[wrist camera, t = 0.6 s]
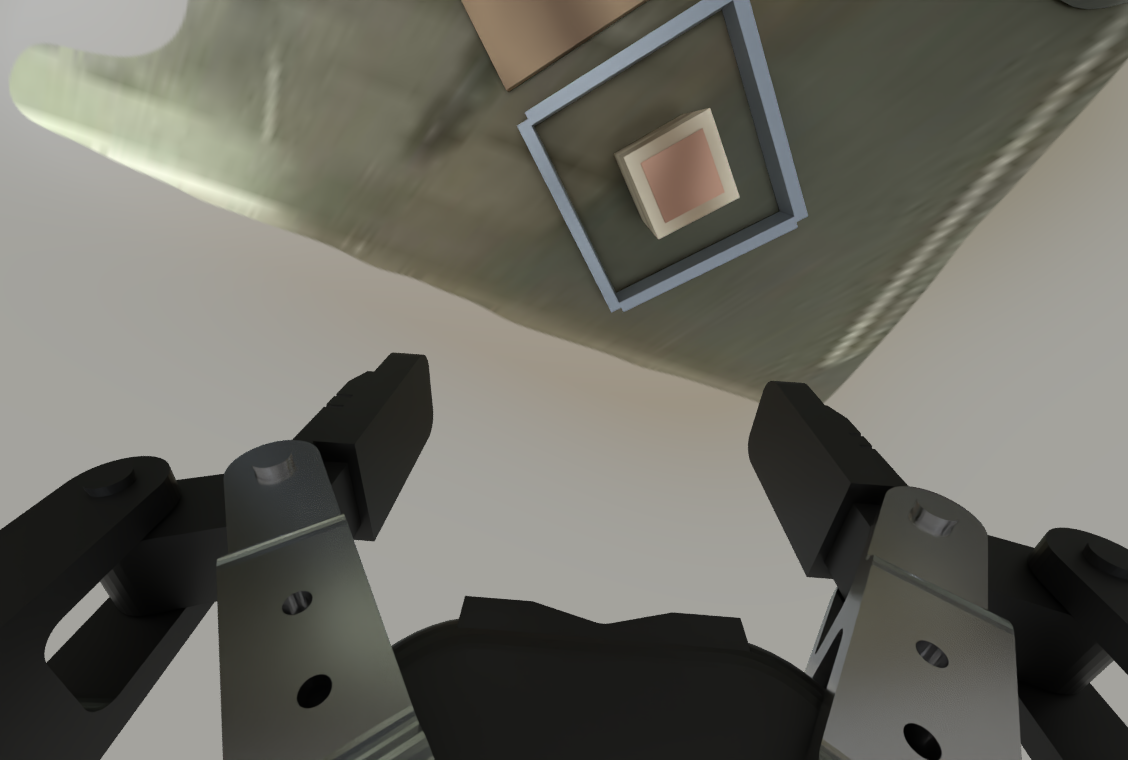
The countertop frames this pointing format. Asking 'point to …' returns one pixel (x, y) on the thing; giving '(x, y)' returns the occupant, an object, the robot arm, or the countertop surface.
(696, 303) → the countertop surface
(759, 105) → the bin
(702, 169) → the block
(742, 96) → the countertop surface
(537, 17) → the board
